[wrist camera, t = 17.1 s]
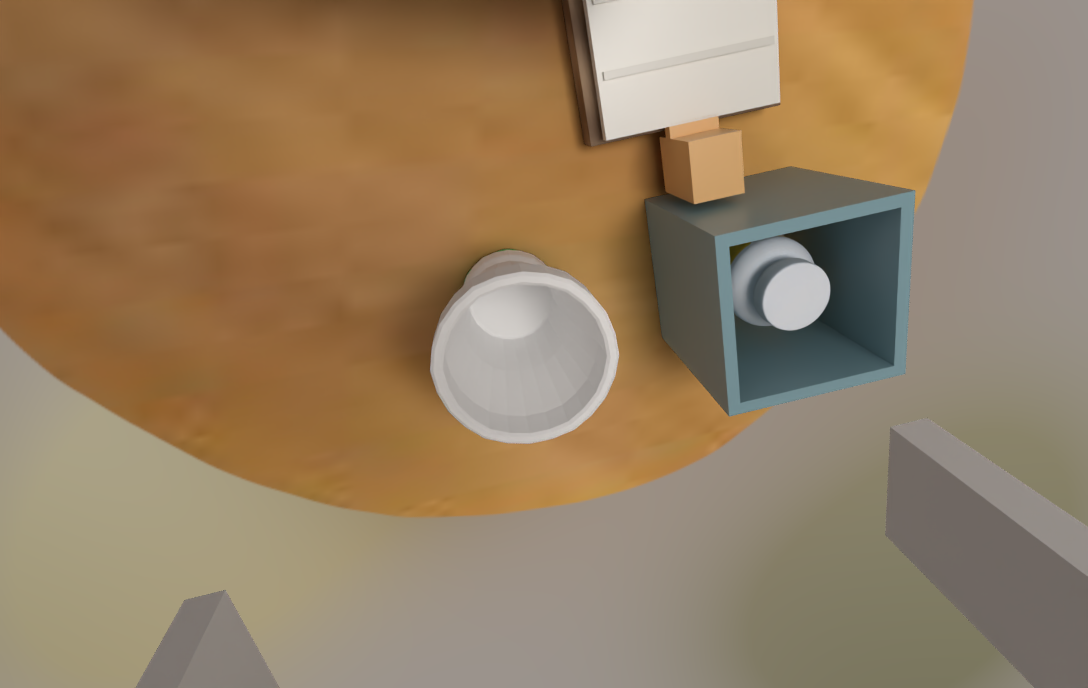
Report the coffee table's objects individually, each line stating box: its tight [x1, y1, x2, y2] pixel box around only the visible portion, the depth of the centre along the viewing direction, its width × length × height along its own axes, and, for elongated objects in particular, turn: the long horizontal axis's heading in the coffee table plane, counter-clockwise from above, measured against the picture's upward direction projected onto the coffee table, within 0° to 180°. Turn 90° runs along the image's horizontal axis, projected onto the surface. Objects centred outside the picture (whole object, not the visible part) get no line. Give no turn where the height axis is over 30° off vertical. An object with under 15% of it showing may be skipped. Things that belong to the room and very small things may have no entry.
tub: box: [645, 166, 915, 416], centre depth 42 cm, size 12×12×14 cm
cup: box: [430, 249, 619, 444], centre depth 41 cm, size 11×11×14 cm
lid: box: [583, 0, 780, 204], centre depth 39 cm, size 17×12×6 cm
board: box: [562, 0, 780, 146], centre depth 40 cm, size 15×14×2 cm
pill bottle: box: [729, 235, 830, 331], centre depth 44 cm, size 6×6×12 cm
